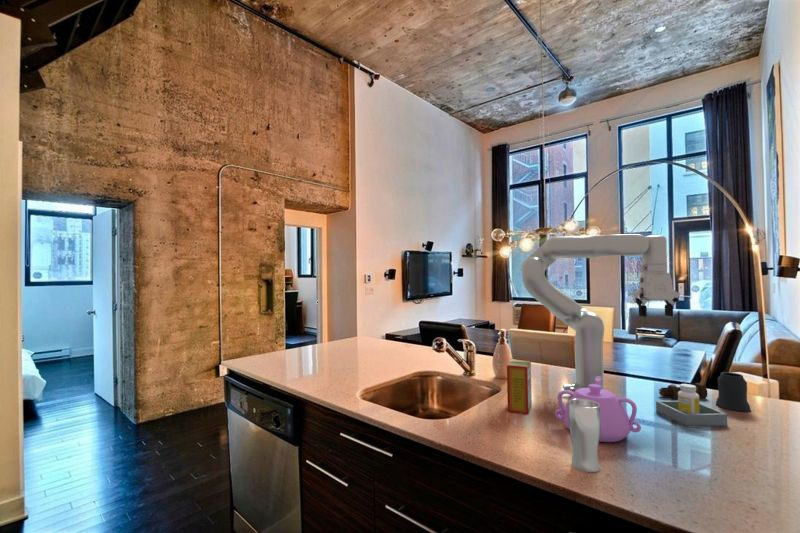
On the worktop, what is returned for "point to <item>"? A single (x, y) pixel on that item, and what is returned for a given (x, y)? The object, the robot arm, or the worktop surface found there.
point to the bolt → (673, 390)
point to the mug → (732, 392)
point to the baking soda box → (519, 387)
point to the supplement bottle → (688, 399)
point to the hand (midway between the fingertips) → (655, 316)
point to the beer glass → (585, 433)
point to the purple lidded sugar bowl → (604, 411)
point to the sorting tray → (692, 415)
